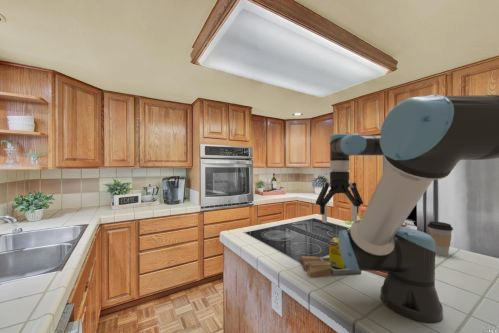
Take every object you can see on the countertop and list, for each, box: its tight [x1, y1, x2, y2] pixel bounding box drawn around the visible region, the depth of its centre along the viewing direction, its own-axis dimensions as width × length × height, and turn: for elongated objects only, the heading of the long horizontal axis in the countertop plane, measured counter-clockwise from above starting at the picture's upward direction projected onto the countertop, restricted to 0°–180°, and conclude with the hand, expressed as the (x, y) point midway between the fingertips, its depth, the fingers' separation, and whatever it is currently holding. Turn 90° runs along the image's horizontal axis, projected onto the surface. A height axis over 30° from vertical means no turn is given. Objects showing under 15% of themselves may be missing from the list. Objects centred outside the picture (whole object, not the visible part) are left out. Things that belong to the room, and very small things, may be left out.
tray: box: [318, 256, 362, 277], centre depth 88 cm, size 12×12×2 cm
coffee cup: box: [427, 221, 454, 257], centre depth 103 cm, size 9×9×15 cm
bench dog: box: [307, 261, 331, 278], centre depth 82 cm, size 3×8×4 cm, turn 99°
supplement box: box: [328, 237, 346, 269], centre depth 88 cm, size 6×6×11 cm
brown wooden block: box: [301, 255, 320, 272], centre depth 89 cm, size 8×7×3 cm
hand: (339, 221), depth 88 cm, fingers open, 13 cm apart
